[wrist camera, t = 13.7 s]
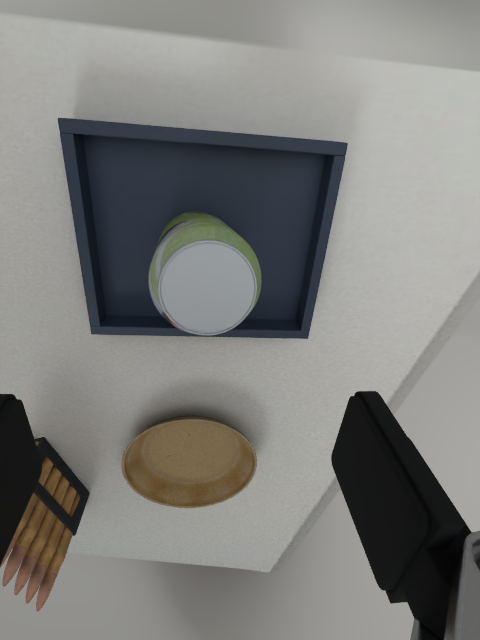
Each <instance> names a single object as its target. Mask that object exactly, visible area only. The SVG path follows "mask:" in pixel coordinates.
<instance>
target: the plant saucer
mask: <svg viewBox="0 0 480 640" xmlns="http://www.w3.org/2000/svg"><path fill="white" fill-rule="evenodd" d="M256 467H257V459H256V453H255V451H254V449H253V447H252V445H251V444H250V442H249V441H248V440H247V439H246V438H245V437H244V436H243V435H242V434H241V433H239V432H238V431H237V430H235V429H234V428H232V427H230V426H229V425H227V424H224V423H222V422H220V421H217V420H214V419H210V418H205V417H197V416H187V417H178V418H173V419H169V420H166V421H163V422H160V423H158V424H156V425H154V426H152V427H150V428H148V429H147V430H145V431H144V432H142V433H141V434H140V435H138V436H137V437H136V438H135V439H134V440H133V441H132V442H131V443H130V444H129V445H128V447H127V448H126V450H125V452H124V454H123V458H122V472H123V475H124V477H125V479H126V481H127V483H128V484H129V485H130V487H131V488H132V489H133V490H134V491H135V492H137V493H138V494H140V495H141V496H143V497H144V498H146V499H148V500H150V501H152V502H155V503H158V504H161V505H166V506H172V507H179V508H196V507H205V506H210V505H214V504H217V503H220V502H223V501H225V500H227V499H229V498H232V497H233V496H235V495H236V494H238V493H239V492H241V491H242V490H243V489H244V488H245V487H246V486H247V485H248V484H249V483H250V481H251V480H252V478H253V476H254V474H255V471H256Z"/></svg>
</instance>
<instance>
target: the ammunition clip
mask: <svg viewBox="0 0 480 640" xmlns="http://www.w3.org/2000/svg"><path fill="white" fill-rule="evenodd" d="M35 443H36V446H37V449H38V453H39V456H40V459H41V462H42V473H41V476H40V479H39V481H38V483H37V486H36V488H35V490H34V492H33V495H32V497H31V499H30V501H29V503H28V506H27V508H26V510H25V512H24V515H23V517H22V519H21V521H20V523H19V526H18V528H17V530H16V532H15V535H14V537H13V539H12V541H11V543H10V546H9V548H8V550H7V552H6V555H5V557H4V559H3V561H2V563H1V566H2V565H3V563H4V561H5V560H6V558H7V557H8V555H9V553H10V552H11V549H12V548H13V550H12V552H11V554H10V556H9V559H8V562H7V565H6V568H5V571H4V576H3V586H6V585H7V584H8V583H9V581H10V580H11V579H12V577H13V576H14V574H15V573H16V571H17V570H18V568H19V566H20V564H21V566H20V569H19V572H18V575H17V579H16V583H15V592H14V593H15V595H17V594H18V593H19V592H20V591H21V590H22V588H23V587H24V585H25V584H26V582H27V580H28V579H29V577H30V580H29V583H28V587H27V592H26V603H29V602H30V601H31V599H32V598H33V596H34V595H35V593H36V592H37V590H38V588H39V586H40V588H39V592H38V596H37V603H36V609H37V611H39V610H40V609H41V608H42V606H43V605H44V603H45V601H46V600H47V598H48V596H49V594H50V591H51V589H52V587H53V584H54V581H55V579H56V577H57V574H58V571H59V569H60V567H61V565H62V563H63V561H64V558H65V555H66V553H67V550H68V547H69V544H70V541H71V538H72V536H74V535H76V532H77V529H78V526H79V523H80V520H81V517H82V514H83V512H84V509H85V506H86V503H87V500H88V497H89V492H88V490H87V489H86V488H85V487H84V485H83V484H82V483H81V482H80V481H79V479H78V478H77V477H76V476H75V474H74V473H73V472H72V471H71V470H70V468H69V467H68V466H67V465H66V463H65V462H64V461H63V460H62V458H61V457H60V456H59V455H58V454H57V452H56V451H55V450H54V449H53V447H52V446H51V445H50V444H49V443H48V441H47V440H46V439H45V438H39V439H36V440H35ZM14 543H15V544H14ZM13 545H14V546H13ZM22 560H23V561H22ZM21 562H22V563H21ZM1 566H0V567H1ZM30 575H31V576H30Z"/></svg>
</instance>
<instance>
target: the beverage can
mask: <svg viewBox="0 0 480 640" xmlns="http://www.w3.org/2000/svg"><path fill="white" fill-rule="evenodd" d="M261 282H262V279H261V269H260V265H259V261H258V259H257V257H256V255H255V253H254V251H253V250H252V248H251V247H250V245H249V244H248V243H247V242H246V241H245V240H244V239H243V238H242V237H241V236H239V235H238V234H237V233H236V232H235V231H234V230H232V229H231V228H230V227H229V226H228V225H226V224H225V223H224V222H223V221H222V220H220V219H219V218H218V217H216V216H214V215H212V214H210V213H206V212H201V211H192V212H186V213H183V214H181V215H179V216H177V217H175V218H174V219H172V220H171V221H170V222H169V223H168V224H167V225H166V226H165V228H164V230H163V231H162V233H161V236H160V238H159V241H158V244H157V247H156V250H155V253H154V256H153V259H152V262H151V265H150V270H149V290H150V295H151V297H152V300H153V302H154V305H155V306H156V308H157V310H158V311H159V313H160V314H161V315H162V316H163V317H164V318H165V319H166V320H167V321H168V322H169V323H171V324H172V325H173V326H175V327H177V328H179V329H180V330H183V331H185V332H188V333H192V334H198V335H216V334H221V333H224V332H227V331H229V330H231V329H233V328H234V327H236V326H237V325H238V324H240V323H241V322H242V321H243V320H244V319H245V318H246V317H247V316H248V315H249V314H250V312H251V311H252V309H253V308H254V306H255V304H256V302H257V300H258V297H259V294H260V290H261Z"/></svg>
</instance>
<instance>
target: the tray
mask: <svg viewBox="0 0 480 640" xmlns="http://www.w3.org/2000/svg"><path fill="white" fill-rule="evenodd" d="M58 123H59V129H60V132H61V133H60V137H61V143H62V150H63V156H64V162H65V169H66V175H67V181H68V188H69V194H70V200H71V207H72V213H73V220H74V226H75V232H76V239H77V245H78V251H79V258H80V264H81V270H82V277H83V283H84V289H85V296H86V302H87V309H88V315H89V321H90V327H91V334H104V335H154V336H203V337H253V338H302V339H308V336H309V331H310V326H311V321H312V317H313V312H314V307H315V302H316V297H317V292H318V287H319V282H320V278H321V273H322V268H323V263H324V258H325V253H326V248H327V243H328V239H329V234H330V229H331V224H332V219H333V214H334V209H335V204H336V200H337V195H338V190H339V185H340V180H341V175H342V170H343V165H344V161H345V155H346V150H347V145H348V143H343V142H334V141H323V140H311V139H300V138H288V137H277V136H265V135H254V134H242V133H231V132H219V131H208V130H196V129H185V128H173V127H162V126H150V125H139V124H127V123H116V122H104V121H93V120H81V119H68V118H58ZM192 211H201V212H206V213H210V214H212V215H214V216H216V217H218V218H219V219H220V220H222V221H223V222H224V223H225V224H226V225H228V226H229V227H230V228H231V229H232V230H234V231H235V232H236V233H237V234H238V235H239V236H241V237H242V238H243V239H244V240H245V241H246V242H247V243H248V244H249V245H250V247H251V248H252V250H253V251H254V253H255V255H256V257H257V259H258V261H259V265H260V269H261V279H262V282H261V290H260V294H259V297H258V300H257V302H256V304H255V306H254V308H253V309H252V311H251V312H250V314H249V315H248V316H247V317H246V318H245V319H244V320H243V321H242V322H241V323H240V324H238V325H237V326H236V327H234V328H233V329H231V330H229V331H227V332H224V333H221V334H216V335H198V334H192V333H188V332H185V331H183V330H180V329H179V328H177V327H175V326H173V325H172V324H171V323H169V322H168V321H167V320H166V319H165V318H164V317H163V316H162V315H161V314H160V313H159V311H158V310H157V308H156V306H155V305H154V302H153V300H152V297H151V295H150V290H149V270H150V265H151V262H152V259H153V256H154V253H155V250H156V247H157V244H158V241H159V238H160V236H161V233H162V231H163V230H164V228H165V226H166V225H167V224H168V223H169V222H170V221H171V220H172V219H174V218H175V217H177V216H179V215H181V214H183V213H186V212H192Z"/></svg>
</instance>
